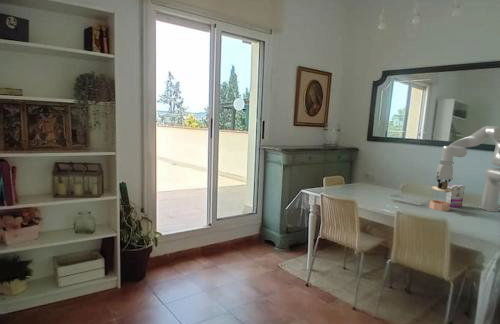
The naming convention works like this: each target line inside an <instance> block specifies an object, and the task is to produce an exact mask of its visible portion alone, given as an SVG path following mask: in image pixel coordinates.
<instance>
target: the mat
mask: <svg viewBox="0 0 500 324" xmlns="http://www.w3.org/2000/svg"><path fill="white" fill-rule="evenodd" d="M452 212H453V213H455V214H457V215H459V216H462V217H478V216H477V215H476V214H473V213H471V212H469V211H465V210H463V211H460V210H452Z"/></svg>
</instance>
